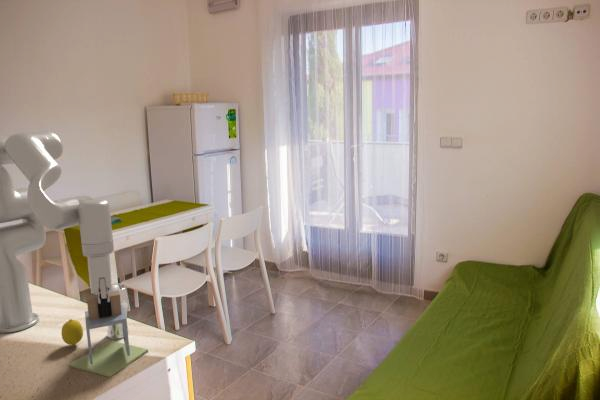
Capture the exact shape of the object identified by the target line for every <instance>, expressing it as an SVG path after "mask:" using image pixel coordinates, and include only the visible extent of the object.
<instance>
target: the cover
mask: <svg viewBox="0 0 600 400" xmlns="http://www.w3.org/2000/svg"><path fill="white" fill-rule="evenodd" d="M106 295H107V293H106ZM100 296H101V294H100ZM109 299H110V301H111V310H112V316H108V317H103V318H99V313H98V304H97V303H98V294H97V293H96V294H94V295H93V294H92V295H87V296H86V303H87V310H86V311H84V318H85V319H84V321H85V327H86V328H85V329H86V337H87V347H88V353H89V357H90V364H93V360H92V351H93V349H92V340H91V333H90V330H93V329H98V328H103V327H108V326H110V325H115V324H120V323H122V327H123V337H124V338H123V344H125V347H126V351H127V355H128V356H130V350H129V345H130V342H129V334H128V329H129V328H128V329H127V326H128V321H127V319H128V318H127V319H126V315H125V311H124V308H123V305H121V302H120V294H119V291H115V292H109Z"/></svg>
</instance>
